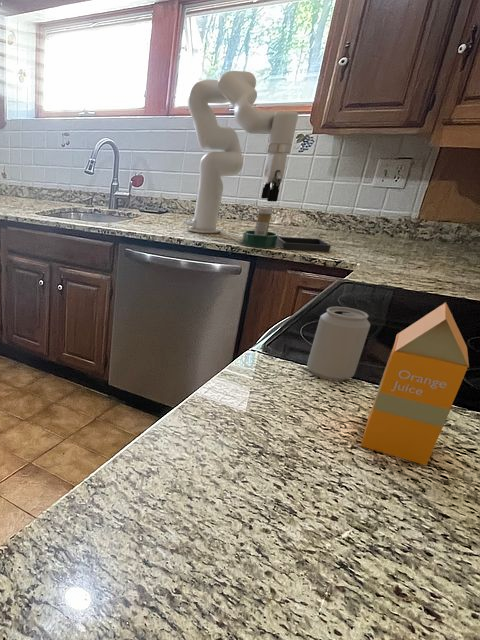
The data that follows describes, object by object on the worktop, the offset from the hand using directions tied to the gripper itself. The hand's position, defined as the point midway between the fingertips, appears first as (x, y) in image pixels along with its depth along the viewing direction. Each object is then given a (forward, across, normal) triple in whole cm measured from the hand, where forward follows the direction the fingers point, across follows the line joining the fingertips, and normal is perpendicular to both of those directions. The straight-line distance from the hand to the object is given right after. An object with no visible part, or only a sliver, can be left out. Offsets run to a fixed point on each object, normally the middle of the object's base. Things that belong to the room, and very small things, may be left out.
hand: (268, 199), depth 191 cm
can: (+18, +118, -11) cm, 120 cm away
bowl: (+17, 0, 0) cm, 17 cm away
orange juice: (+18, +141, -10) cm, 143 cm away
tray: (+17, 0, +15) cm, 22 cm away
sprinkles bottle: (+16, 0, 0) cm, 17 cm away
